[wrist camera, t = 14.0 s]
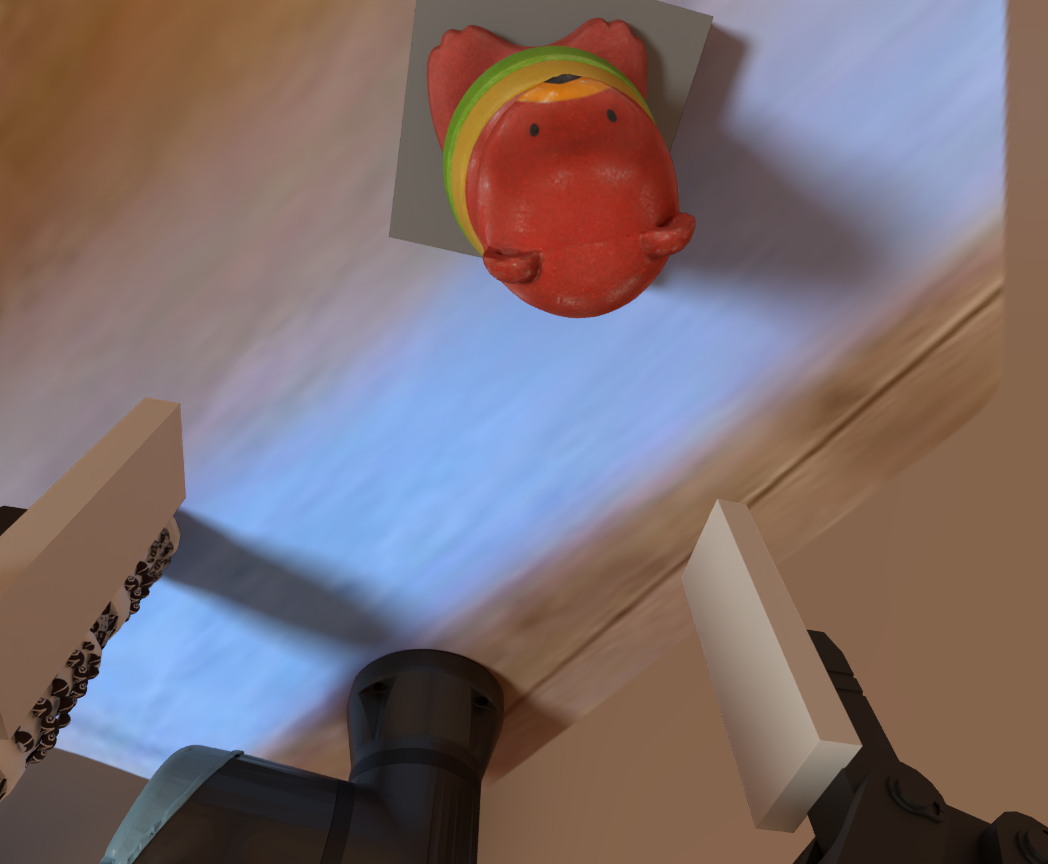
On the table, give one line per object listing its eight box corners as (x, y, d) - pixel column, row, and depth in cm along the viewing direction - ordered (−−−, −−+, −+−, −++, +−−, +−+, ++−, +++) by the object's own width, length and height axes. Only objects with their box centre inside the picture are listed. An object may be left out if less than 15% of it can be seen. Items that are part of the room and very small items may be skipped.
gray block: (617, 267, 42) (625, 289, 39) (400, 218, 40) (388, 236, 37) (695, 16, 35) (713, 16, 31) (434, -57, 33) (423, -65, 30)
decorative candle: (57, 470, 50) (-285, 798, 29) (181, 491, 51) (-62, 823, 30) (75, 557, 55) (-207, 892, 34) (188, 574, 56) (-17, 910, 35)
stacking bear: (647, 14, 31) (805, 20, 16) (637, 227, 37) (748, 376, 22) (421, 27, 31) (372, 45, 16) (445, 240, 37) (426, 400, 22)
